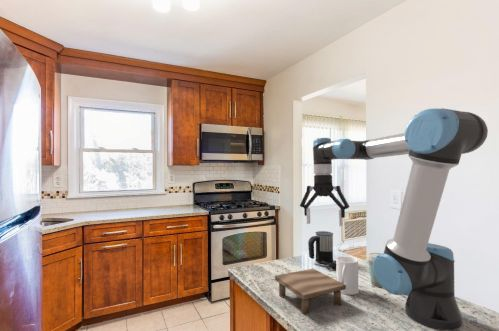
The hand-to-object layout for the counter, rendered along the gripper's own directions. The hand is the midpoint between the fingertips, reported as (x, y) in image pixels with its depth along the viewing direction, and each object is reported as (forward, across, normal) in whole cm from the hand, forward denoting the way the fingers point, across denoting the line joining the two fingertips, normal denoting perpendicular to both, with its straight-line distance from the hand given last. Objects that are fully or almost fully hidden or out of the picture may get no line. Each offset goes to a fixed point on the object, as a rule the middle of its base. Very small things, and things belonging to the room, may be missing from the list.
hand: (324, 224), depth 116 cm
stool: (+24, +2, +18) cm, 30 cm away
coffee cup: (+25, -20, -8) cm, 33 cm away
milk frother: (+24, +5, -24) cm, 34 cm away
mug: (+25, -9, +5) cm, 27 cm away
